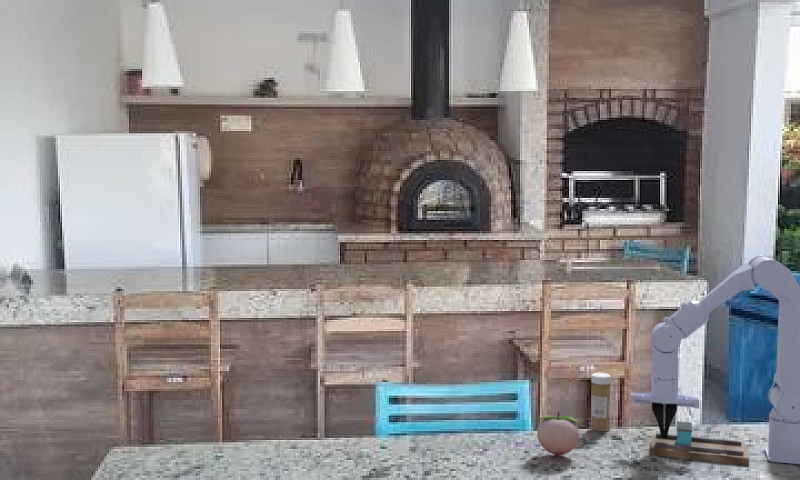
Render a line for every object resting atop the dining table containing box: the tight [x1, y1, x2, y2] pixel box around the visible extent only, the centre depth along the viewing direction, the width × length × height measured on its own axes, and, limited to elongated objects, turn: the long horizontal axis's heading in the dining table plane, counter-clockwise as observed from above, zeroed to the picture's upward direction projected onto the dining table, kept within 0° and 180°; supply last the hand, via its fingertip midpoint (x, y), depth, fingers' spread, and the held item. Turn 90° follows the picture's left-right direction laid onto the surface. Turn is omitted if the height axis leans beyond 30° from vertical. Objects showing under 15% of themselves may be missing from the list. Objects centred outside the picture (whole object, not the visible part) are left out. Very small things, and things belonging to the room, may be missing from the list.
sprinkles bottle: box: [590, 372, 612, 432], centre depth 192 cm, size 5×5×14 cm
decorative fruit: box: [536, 411, 581, 457], centre depth 174 cm, size 9×8×10 cm
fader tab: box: [676, 420, 693, 445], centre depth 176 cm, size 3×5×4 cm, turn 161°
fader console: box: [649, 432, 750, 466], centre depth 176 cm, size 20×10×2 cm, turn 71°
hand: (664, 436), depth 178 cm, fingers closed
